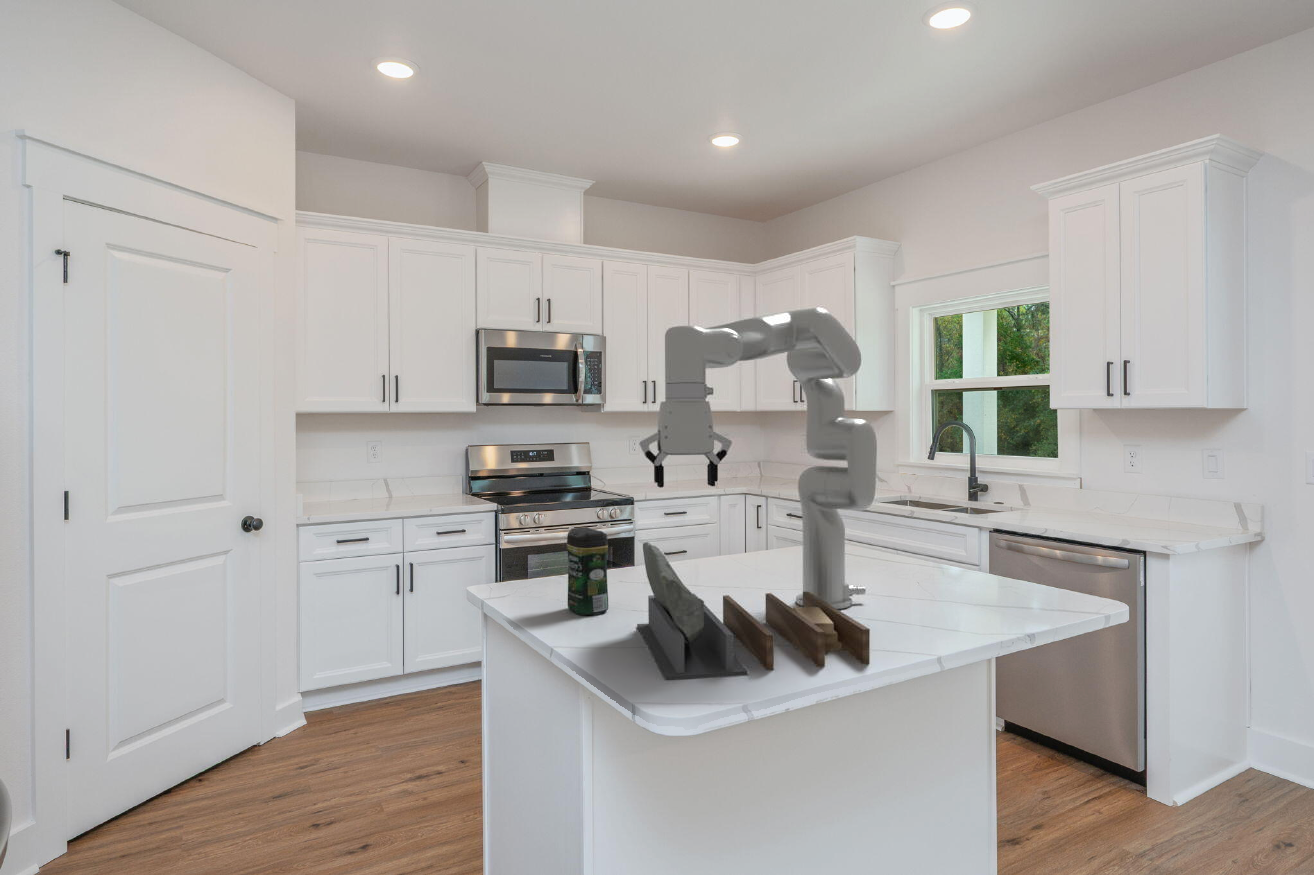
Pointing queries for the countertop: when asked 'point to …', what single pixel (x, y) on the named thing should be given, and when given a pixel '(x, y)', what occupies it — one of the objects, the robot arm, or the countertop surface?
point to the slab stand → (689, 646)
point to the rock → (674, 594)
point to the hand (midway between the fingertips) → (686, 486)
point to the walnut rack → (794, 630)
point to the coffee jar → (587, 571)
